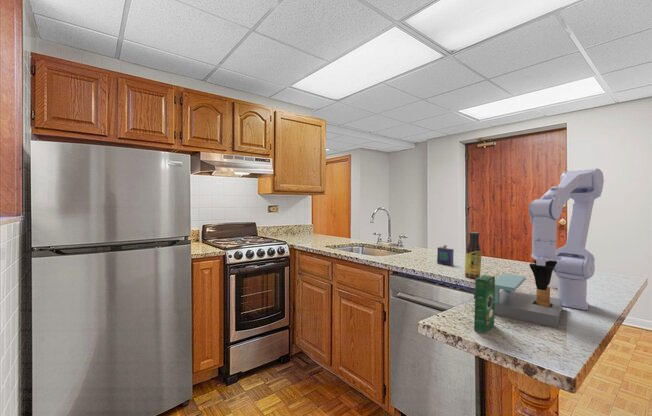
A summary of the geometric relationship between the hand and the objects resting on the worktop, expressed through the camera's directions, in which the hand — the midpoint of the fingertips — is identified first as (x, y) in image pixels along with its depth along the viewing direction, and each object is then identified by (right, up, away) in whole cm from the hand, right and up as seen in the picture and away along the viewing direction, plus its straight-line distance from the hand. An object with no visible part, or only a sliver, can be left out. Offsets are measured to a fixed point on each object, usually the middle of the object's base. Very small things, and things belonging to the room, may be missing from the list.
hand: (543, 287), depth 89 cm
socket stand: (-3, -8, +3) cm, 9 cm away
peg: (0, -8, 0) cm, 8 cm away
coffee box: (-23, -8, -11) cm, 26 cm away
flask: (+1, -8, +77) cm, 77 cm away
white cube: (+26, -8, +32) cm, 43 cm away
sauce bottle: (+2, -8, +47) cm, 48 cm away
